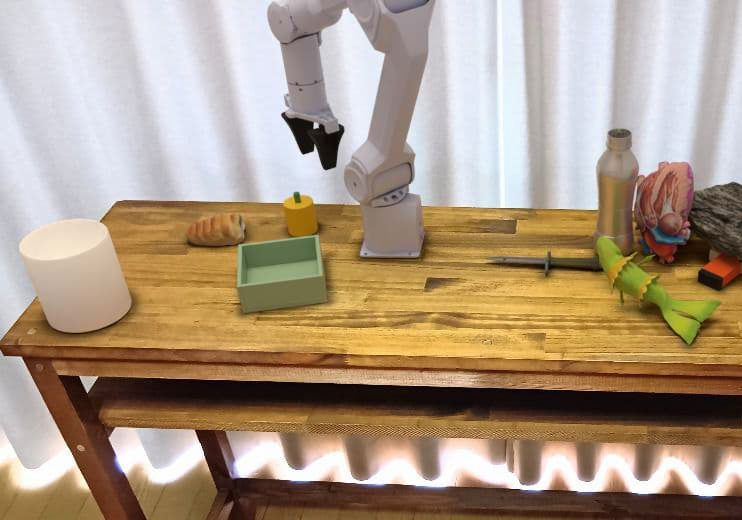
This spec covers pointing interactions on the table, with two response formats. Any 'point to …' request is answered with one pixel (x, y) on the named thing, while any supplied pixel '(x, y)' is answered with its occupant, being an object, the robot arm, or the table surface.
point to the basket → (281, 274)
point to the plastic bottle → (616, 191)
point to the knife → (553, 261)
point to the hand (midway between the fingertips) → (318, 160)
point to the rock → (719, 218)
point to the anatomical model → (664, 208)
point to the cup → (76, 275)
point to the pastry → (217, 230)
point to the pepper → (300, 215)
